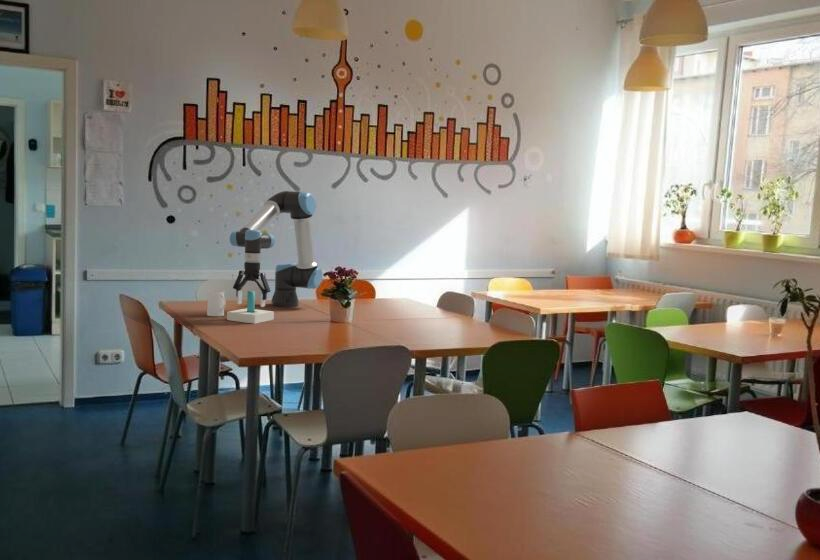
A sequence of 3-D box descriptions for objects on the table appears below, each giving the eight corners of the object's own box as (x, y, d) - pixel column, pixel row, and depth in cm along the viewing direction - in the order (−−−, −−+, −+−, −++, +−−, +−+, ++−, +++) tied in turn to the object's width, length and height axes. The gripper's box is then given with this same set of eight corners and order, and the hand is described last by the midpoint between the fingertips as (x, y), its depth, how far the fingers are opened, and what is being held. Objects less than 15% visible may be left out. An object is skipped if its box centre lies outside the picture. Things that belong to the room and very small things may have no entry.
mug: (231, 316, 402) (231, 292, 401) (215, 317, 396) (216, 293, 395) (218, 313, 410) (219, 289, 409) (203, 314, 405) (204, 290, 403)
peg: (245, 319, 394) (246, 291, 393) (249, 319, 398) (250, 290, 396) (251, 320, 393) (252, 292, 391) (255, 319, 396) (256, 291, 395)
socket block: (227, 320, 391) (227, 311, 391) (246, 316, 406) (247, 308, 405) (254, 323, 385) (254, 315, 384) (273, 319, 399) (273, 311, 399)
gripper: (226, 260, 394) (225, 303, 396) (269, 264, 384) (268, 308, 386) (235, 259, 401) (234, 301, 403) (278, 263, 391) (277, 306, 393)
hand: (251, 305), depth 394 cm, fingers open, 13 cm apart
